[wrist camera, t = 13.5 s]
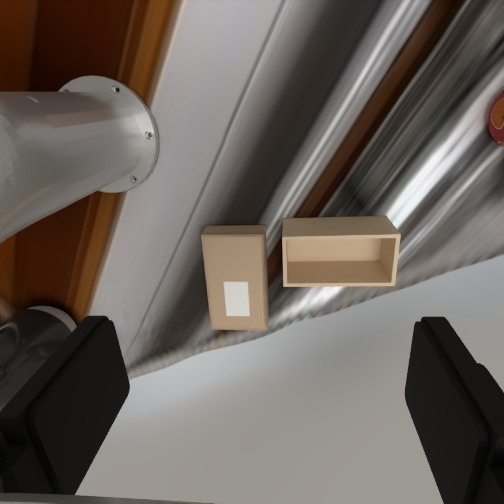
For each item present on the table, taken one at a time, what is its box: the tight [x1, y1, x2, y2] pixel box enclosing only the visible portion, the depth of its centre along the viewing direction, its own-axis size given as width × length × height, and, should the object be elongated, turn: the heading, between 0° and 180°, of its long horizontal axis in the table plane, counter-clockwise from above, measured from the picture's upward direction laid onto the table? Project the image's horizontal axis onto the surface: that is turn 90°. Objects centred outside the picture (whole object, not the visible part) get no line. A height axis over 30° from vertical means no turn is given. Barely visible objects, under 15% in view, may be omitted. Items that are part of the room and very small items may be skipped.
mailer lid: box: [201, 225, 269, 330], centre depth 45 cm, size 13×7×3 cm, turn 3°
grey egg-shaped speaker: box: [0, 306, 77, 411], centre depth 46 cm, size 10×10×15 cm
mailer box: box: [282, 216, 401, 287], centre depth 41 cm, size 12×6×6 cm, turn 94°
